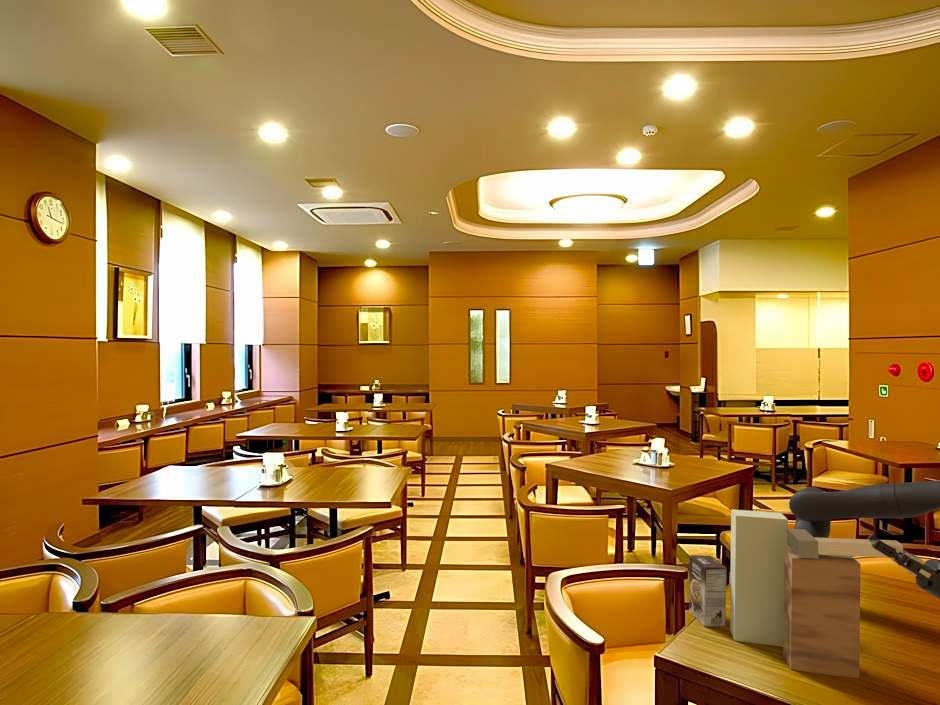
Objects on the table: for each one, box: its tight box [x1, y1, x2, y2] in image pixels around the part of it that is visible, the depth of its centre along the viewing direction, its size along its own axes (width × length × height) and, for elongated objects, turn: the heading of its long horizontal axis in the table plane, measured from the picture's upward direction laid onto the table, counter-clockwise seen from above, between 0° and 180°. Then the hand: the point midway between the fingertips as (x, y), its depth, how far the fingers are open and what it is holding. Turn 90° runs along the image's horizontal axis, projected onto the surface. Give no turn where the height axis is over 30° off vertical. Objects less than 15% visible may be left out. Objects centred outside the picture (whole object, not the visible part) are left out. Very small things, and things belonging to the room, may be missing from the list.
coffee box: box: [688, 554, 728, 627], centre depth 157 cm, size 9×6×16 cm
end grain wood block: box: [787, 528, 904, 559], centre depth 132 cm, size 9×22×4 cm, turn 76°
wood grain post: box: [782, 549, 862, 680], centre depth 133 cm, size 6×14×26 cm, turn 76°
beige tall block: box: [729, 509, 789, 648], centre depth 147 cm, size 6×12×32 cm, turn 76°
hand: (872, 541), depth 131 cm, fingers closed on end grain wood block, 3 cm apart
